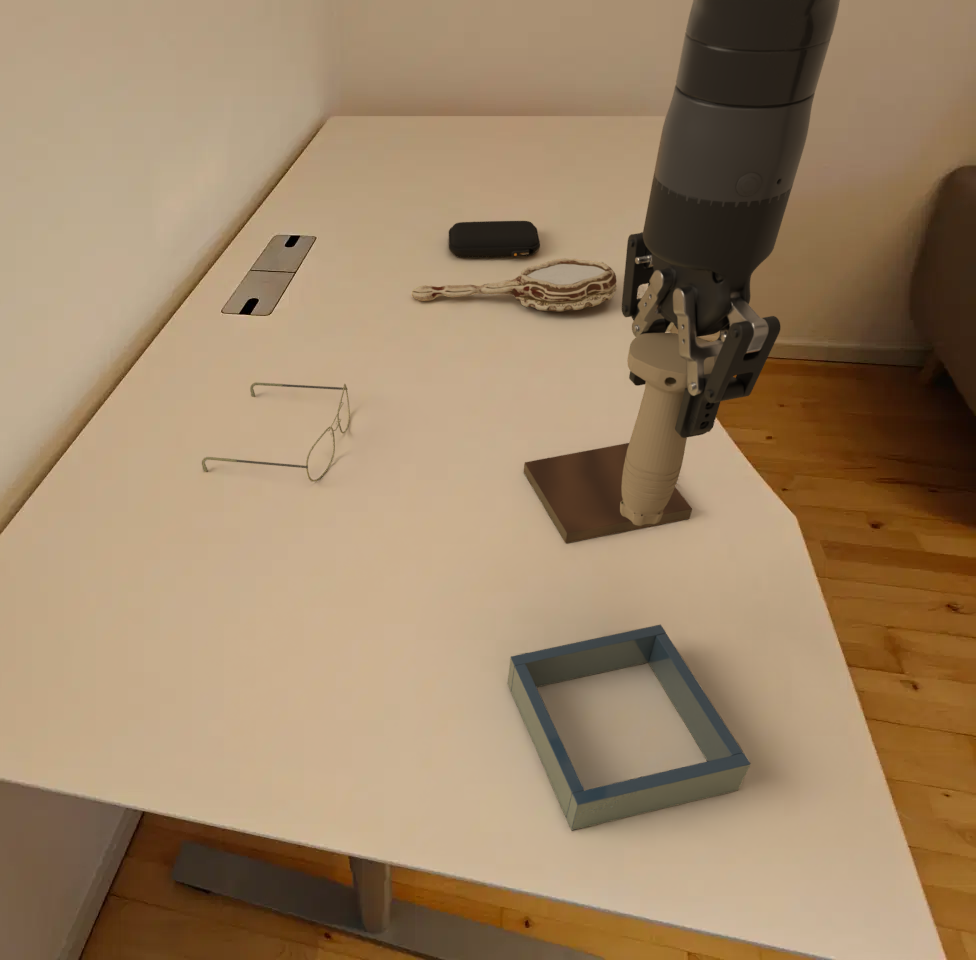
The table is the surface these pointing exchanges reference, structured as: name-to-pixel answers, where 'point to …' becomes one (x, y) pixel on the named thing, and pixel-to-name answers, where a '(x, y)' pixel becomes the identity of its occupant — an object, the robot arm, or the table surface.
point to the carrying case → (493, 239)
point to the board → (590, 493)
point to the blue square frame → (642, 792)
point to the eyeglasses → (312, 446)
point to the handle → (655, 427)
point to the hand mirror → (543, 286)
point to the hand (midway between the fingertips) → (666, 405)
